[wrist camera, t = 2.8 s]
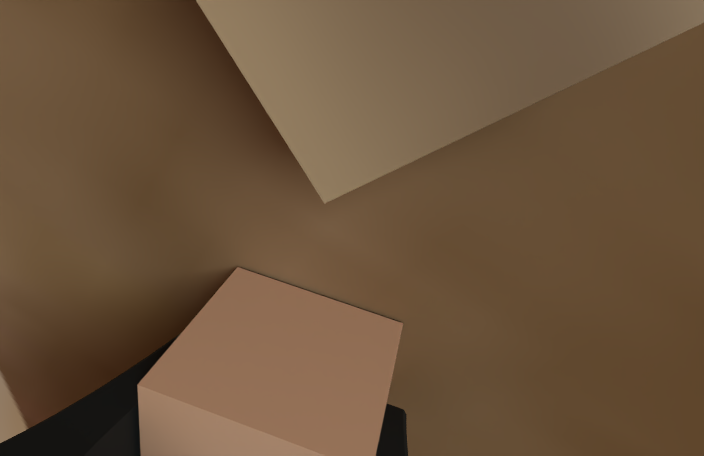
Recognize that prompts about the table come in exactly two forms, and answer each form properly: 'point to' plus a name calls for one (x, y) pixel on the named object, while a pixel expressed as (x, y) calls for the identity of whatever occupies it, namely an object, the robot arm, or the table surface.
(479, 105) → the slab upper
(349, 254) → the table surface
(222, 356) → the block
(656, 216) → the table surface
